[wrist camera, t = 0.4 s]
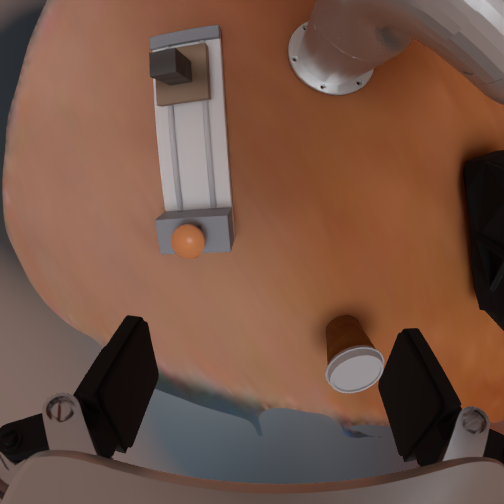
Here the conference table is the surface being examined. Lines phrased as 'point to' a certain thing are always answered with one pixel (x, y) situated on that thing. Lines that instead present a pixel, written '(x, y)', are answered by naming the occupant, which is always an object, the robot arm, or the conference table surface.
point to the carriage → (181, 74)
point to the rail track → (195, 153)
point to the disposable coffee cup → (351, 356)
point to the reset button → (188, 241)
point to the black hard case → (487, 230)
